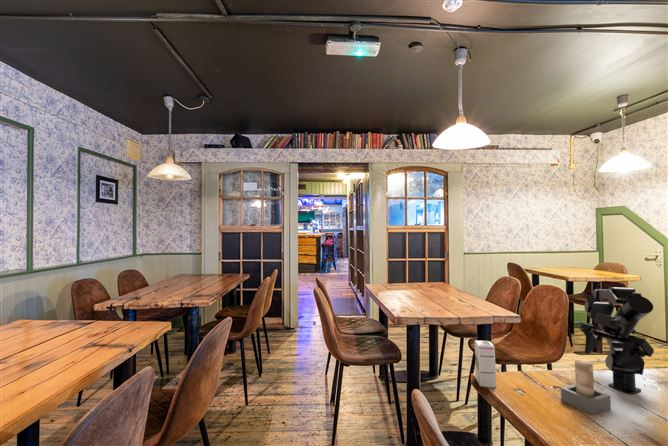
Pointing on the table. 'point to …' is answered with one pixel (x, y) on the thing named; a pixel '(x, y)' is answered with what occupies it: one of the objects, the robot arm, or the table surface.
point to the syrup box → (485, 363)
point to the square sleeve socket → (586, 400)
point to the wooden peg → (584, 378)
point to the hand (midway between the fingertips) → (600, 358)
